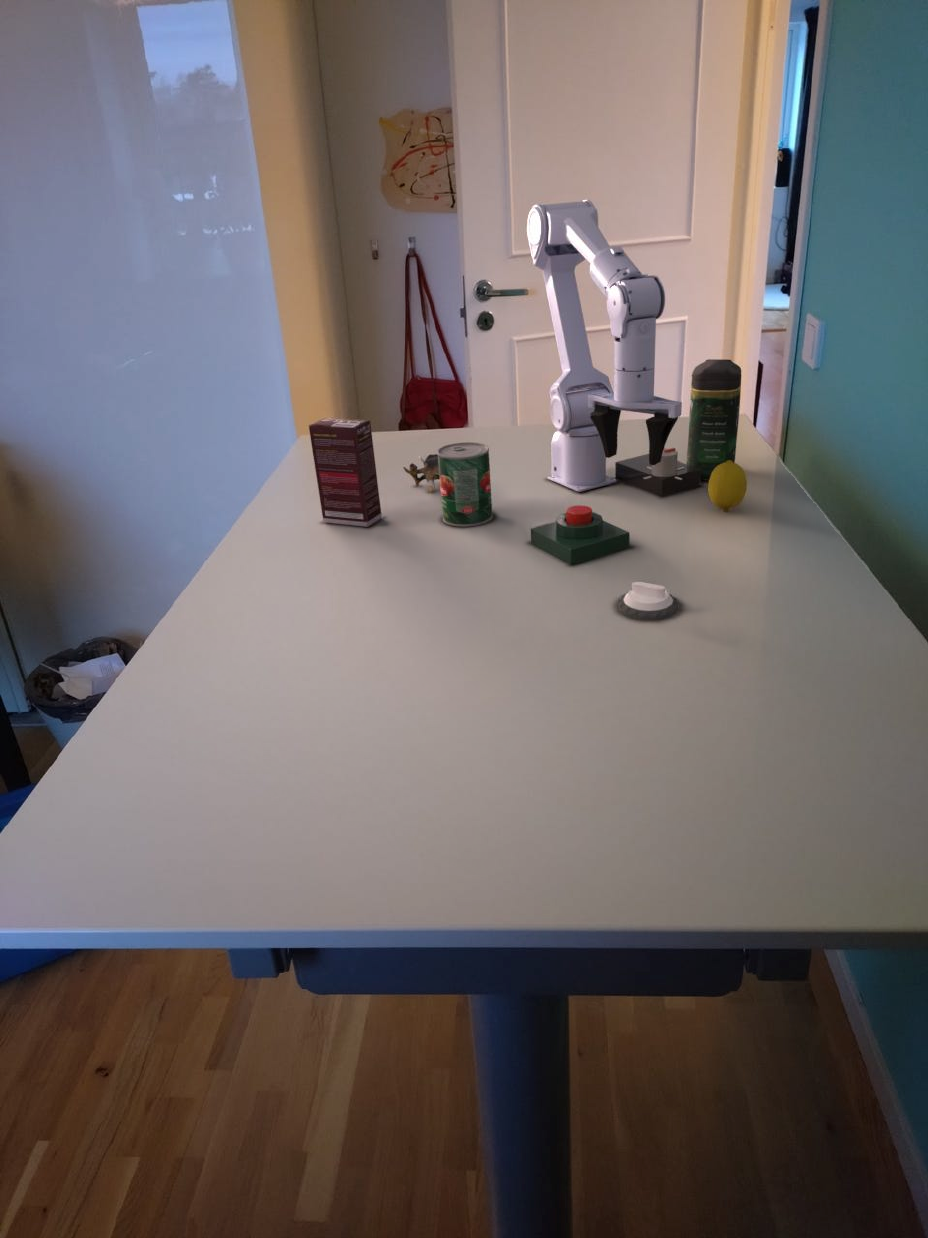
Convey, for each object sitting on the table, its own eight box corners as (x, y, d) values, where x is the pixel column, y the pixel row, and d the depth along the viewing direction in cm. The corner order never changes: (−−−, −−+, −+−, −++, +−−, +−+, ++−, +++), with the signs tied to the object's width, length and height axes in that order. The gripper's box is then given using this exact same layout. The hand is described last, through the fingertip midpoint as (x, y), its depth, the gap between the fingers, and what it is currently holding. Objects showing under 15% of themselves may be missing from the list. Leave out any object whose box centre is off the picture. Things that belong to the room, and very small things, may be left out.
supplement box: (383, 517, 143) (372, 419, 136) (368, 528, 140) (355, 427, 132) (337, 512, 147) (324, 416, 140) (321, 522, 143) (306, 424, 136)
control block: (530, 543, 130) (529, 517, 128) (586, 527, 134) (586, 501, 132) (571, 565, 122) (570, 537, 120) (629, 547, 126) (629, 520, 124)
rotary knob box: (605, 481, 152) (605, 463, 150) (651, 469, 156) (652, 451, 154) (660, 503, 141) (661, 484, 139) (709, 489, 145) (710, 470, 143)
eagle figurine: (403, 490, 151) (453, 482, 148) (401, 449, 152) (451, 440, 149) (421, 500, 158) (469, 493, 155) (419, 461, 159) (467, 453, 156)
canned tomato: (502, 518, 139) (499, 449, 134) (458, 530, 136) (453, 460, 131) (475, 505, 145) (471, 439, 141) (433, 516, 142) (427, 449, 137)
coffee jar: (733, 482, 147) (742, 367, 138) (684, 481, 149) (689, 368, 141) (735, 464, 155) (743, 355, 147) (688, 463, 157) (694, 355, 149)
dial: (662, 478, 142) (663, 455, 140) (646, 472, 145) (646, 449, 143) (682, 473, 143) (683, 450, 142) (665, 467, 147) (666, 445, 145)
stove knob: (665, 625, 105) (666, 603, 103) (607, 613, 108) (608, 592, 107) (687, 600, 110) (688, 578, 109) (631, 590, 114) (631, 569, 112)
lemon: (746, 518, 133) (750, 466, 129) (707, 517, 134) (710, 466, 130) (743, 505, 137) (747, 454, 134) (706, 505, 139) (709, 454, 135)
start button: (561, 520, 127) (561, 509, 126) (581, 515, 128) (581, 503, 127) (576, 528, 124) (576, 516, 123) (597, 522, 125) (597, 510, 125)
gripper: (693, 365, 127) (689, 459, 133) (606, 358, 135) (606, 446, 141) (668, 376, 122) (665, 472, 128) (579, 367, 131) (580, 458, 137)
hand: (632, 459), depth 134 cm, fingers open, 7 cm apart
